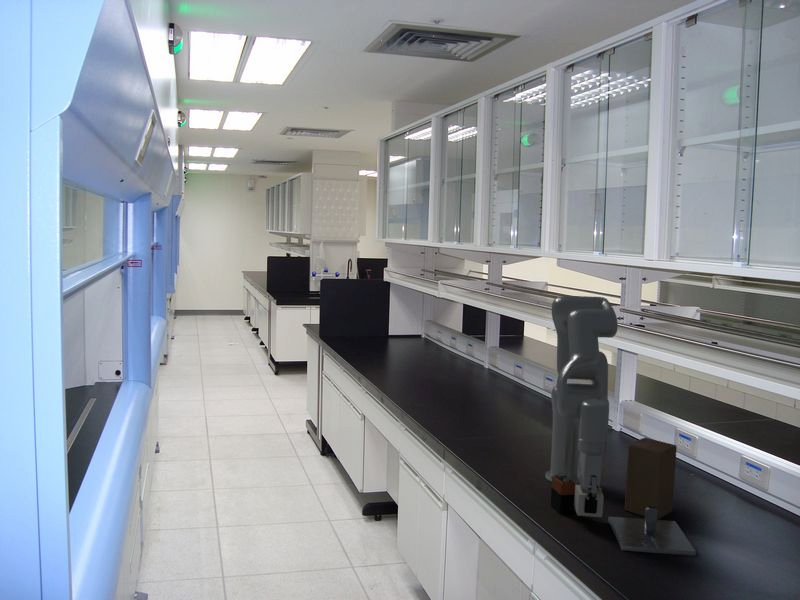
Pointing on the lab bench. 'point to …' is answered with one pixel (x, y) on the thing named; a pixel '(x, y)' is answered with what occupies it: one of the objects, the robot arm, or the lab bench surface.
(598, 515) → the gray square frame
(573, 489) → the battery
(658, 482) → the wooden block
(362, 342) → the lab bench surface
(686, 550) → the plate
